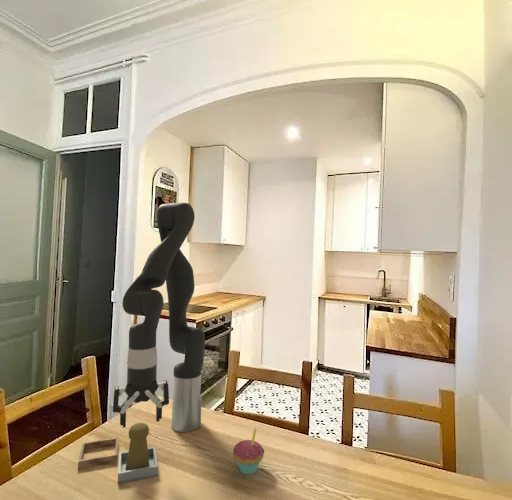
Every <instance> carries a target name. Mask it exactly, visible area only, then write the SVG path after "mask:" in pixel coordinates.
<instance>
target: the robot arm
mask: <svg viewBox="0 0 512 500" xmlns="http://www.w3.org/2000/svg"><path fill="white" fill-rule="evenodd" d="M195 217H196V216H195V211H194V208H193V206H192V205H191V204H190V203H187V202H172V203H171V202H170V203H163V204H160V205H159V206H158V208H157V212H156V222H157V228H158V233H159V238H160V243H159V244H158V245H157V246H156V247H155V248H154V249H153V250H152V251H151V252H150V253H149V255H148V257H147V259H146V261H145V263H144V264H143V265H144V266H143V268H142V271H141V273H140V274H139V275H138V276H137V277H136V278H135V280H134V281H133V282H132V284H131V285H130V286H129V287H128V288H127V290H126V292H125V293H124V296H123V298H122V303H121V304H122V310H123V311H124V312H125V313H126V314H128V315H130V316H131V315H132V316H144V320H143V321H142V322H141V323H140V322H139V323H135V324H132V325H131V326H130V328H129V329H128V331H129V332H128V350H127V351H128V352H127V361H126V364H127V368H126V369H127V370H126V385H125V386H122V387H121V386H120V387H119V386H118V385H117V386H115V387H114V391H113V402H112V413H114V414H116V413H119V416H120V417H119V424H120V427H121V426H122V428H126V427H127V410H129V408H130V407H131V406H132V404H133V403H135V404H138V403H141V402H144V403H145V402H148V401H149V400H150V401H151V402H152V403H153V404H155V420H156V423H158V422H160V420H161V419H162V418H163V407H164V406H167V405H169V404H170V396H169V394H170V393H169V390H170V389H169V383H168V380H166V379H163V381H161V382H160V381H159V382H158V381H157V373H158V372H157V367H158V366H157V365H158V355H157V329H158V325H159V322H160V318H161V315H162V312H163V308H164V302H165V301H164V297H163V295H162V293H161V292H160V291H159V290H158V289H157V288H160V287H162V286H163V285H166V292H167V304H168V306H167V307H168V318H169V319H168V322H169V323H168V324H169V325H168V326H169V327H168V336H169V337H168V338H169V345H170V348H171V350H172V351H174V352H175V353H178V354H182V355H184V359H183V362H180V363H177V364H175V366H174V367H173V376H172V377H173V379H172V380H173V382H172V404H171V406H172V407H171V409H172V411H171V428H172V430H174V431H176V432H179V433H181V432H183V433H185V432H186V433H187V432H191V431H194V430H196V429H200V428H201V427H202V424H201V423H202V404H203V403H202V397H201V386H202V385H201V384H202V383H201V381H202V377H201V376H202V369H203V365H204V358H205V347H206V335H205V332H204V331H203V329H201V328H199V327H193V326H190V325H189V326H188V321H187V309H188V307H189V305H190V302H191V300H192V297H193V295H194V293H195V276H194V275H195V274H194V269H193V266H192V264H191V263H190V261H189V260H188V259H187V258H186V256H185V254H184V253H183V252H182V250H181V249H180V248H181V247H182V245H183V243H184V242H185V240H186V238H187V237H188V236H189V234H190V232H191V231H192V228H193V226H194V223H195ZM158 389H160V391H162V393H163V394H162V395H163V397H162V399H160V398H159V397H158V396H157V394H156V392H157V390H158ZM123 393H125V394H126V395H127V396H126V398H125V400H124V401H123V403H122V404H121V405H119V398H120V397H122V396H123Z"/></svg>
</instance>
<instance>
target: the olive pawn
mask: <svg viewBox="0 0 512 500" xmlns="http://www.w3.org/2000/svg"><path fill="white" fill-rule="evenodd" d="M149 433H150V427H149V425H148V424H147V423H144V422H137V423H134V424H132V425H131V426H130V428H129V429H128V438H129V439H130V441H129V447H128V457H127V463H126V469H125V470H126V471H128V470H133V469H139V468H144V467H149V457H148V448H149V447H148V436H149V435H150V434H149Z"/></svg>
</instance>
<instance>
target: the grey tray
mask: <svg viewBox="0 0 512 500" xmlns="http://www.w3.org/2000/svg"><path fill="white" fill-rule="evenodd" d="M128 451H129V450H128ZM128 451H121V452H118V469H117V470H118V471H117V484H119V483H120V484H122V483H124V482H125V483H128V482H134V481H139V480H145V479H149V478H154V477H158V475H159V473H158V472H159V464H158V458H157V451H156V446H153V447H148V457H149V467H144V468H139V469H133V470H128V471H126V470H125V469H126V463H127V457H128ZM120 484H119V485H120Z"/></svg>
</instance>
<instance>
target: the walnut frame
mask: <svg viewBox="0 0 512 500" xmlns="http://www.w3.org/2000/svg"><path fill="white" fill-rule="evenodd" d="M118 446H119V437H113V438H112V437H111V438H104V439H100V440H99V439H98V440H93V441H92V440H91V441H85V442H82V444H81V448H80V452H79V457H78V463H77V470H81V469H82V470H83V469H87V468H92V467H98V466H105V465H109V464H110V465H111V464H115V463H118V449H119V448H118ZM107 447H114V448H115V450H114V454H109V455H103V456H96V457H95V456H94V457H90V458H84V454H85V451H89V450H95V449H96V450H97V449H103V448H107Z"/></svg>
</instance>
